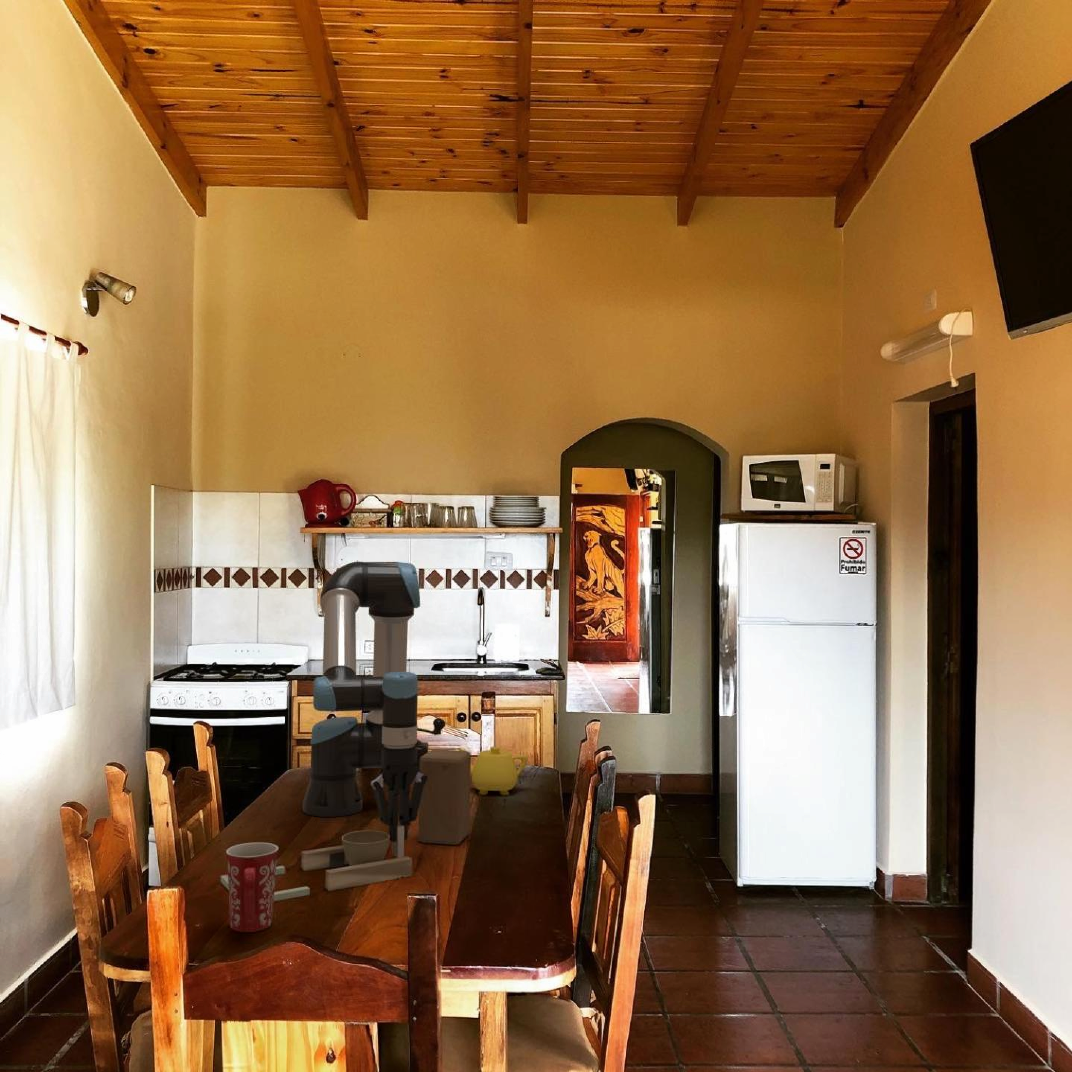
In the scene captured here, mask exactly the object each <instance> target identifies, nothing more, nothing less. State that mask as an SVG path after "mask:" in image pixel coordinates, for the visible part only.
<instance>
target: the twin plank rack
mask: <svg viewBox="0 0 1072 1072" xmlns="http://www.w3.org/2000/svg"><path fill="white" fill-rule="evenodd" d="M300 856H301V859H300V860H301V861H300V865H301V866H300V868H301V870H302V871H304V872H307V871H313V870H318V869H325V868H330V869H327V870H325V886H324V888H325V890H327V891H329V892H332V891H338V890H343V889H349V888H353V887H358V886H359V887H360V886H365V885H371V884H375V883H376V884H377V883H381V882H387V881H392V880H397V878H398V879H402V878H401V877H404V878H408V877H413V859H412V858H411V857H410V856H404V857H400V858H397V857H395V858H391V859H384V860H383V861H378V862H372V863H366V864H361V865H355V866H350V865H349V863H348V861H347V859H346V856H345V853H344V849H343V844H342V845H336V846H330V847H329V846H327V847H324V848H316V849H310V850H303V851H301V855H300ZM345 865H349V866H345ZM331 868H332V869H331ZM386 880H387V881H386ZM337 889H338V890H337Z"/></svg>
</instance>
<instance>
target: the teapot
mask: <svg viewBox="0 0 1072 1072" xmlns="http://www.w3.org/2000/svg"><path fill="white" fill-rule="evenodd" d="M456 749H457V750H460V751H467V750H466V749H464V748H459V747H458V748H456ZM511 753H512V752H510V750H509V751H508V750H501V747H500V746H490V748H489V749H486V750H481V751H480V752H479V753H478V756H477V758H476V759H475V762H474V765H473V764H472V763H471V767H470V778H471V782H472V784H473V785H474V786H473V787H475V789H477V790H478V791H479V792H478V795H481V796H486V795H488V794H489V791H493V792H497V791H498V792H499V794H500V795H501V796H509V795H510V793H509V791H510V790H512V789H513V788H515V786H516V784H517V782H518V778H519V777H518V776H519V775H520V774H521V772H523V770H524V768H525V767H526V765H528V760H529V759H528V756H527V755H525V754H518V755H512V754H511ZM514 760H520V764H519V767H518V769H517V765H516V763H515V762H516V761H514Z"/></svg>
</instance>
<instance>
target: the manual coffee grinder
mask: <svg viewBox="0 0 1072 1072" xmlns="http://www.w3.org/2000/svg"><path fill="white" fill-rule="evenodd" d="M432 725H433V730H430V729H425V728H421V727H420V728H418V727H417V732H422V733H428V734H431V735H434V736H438V735H442V730H443V728H444V727H446V721H445V720H444V719H443V718H440V717H437V718H435V719H433V721H432ZM415 746H416V747H417V762H416V766H417V768H418V772H419V773H420V758H421V757H422V756H423V755H425V754H426V753H428V752H429V742H427V741H425V742H424V741H422V740H419V739H418V738H417V743H416V744H415Z"/></svg>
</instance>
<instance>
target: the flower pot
mask: <svg viewBox="0 0 1072 1072" xmlns="http://www.w3.org/2000/svg"><path fill="white" fill-rule="evenodd" d="M341 843H342V845H343V849H344V853H345V856H346V859H347V861H348V863H349V864H348V865H349V866H355V865H361V864H366V863H372V862H378V861H384V860H385V857H386V855H387V853H388V852H387V851H388V848H389V844H390V835H389V832H385V831H382V830H381V831H380V830H374V829H373V830H372V829H371V830H370V829H369V830H368V829H367V830H357V831H350V832H348V833H345V834H344V835H342V836H341Z"/></svg>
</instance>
